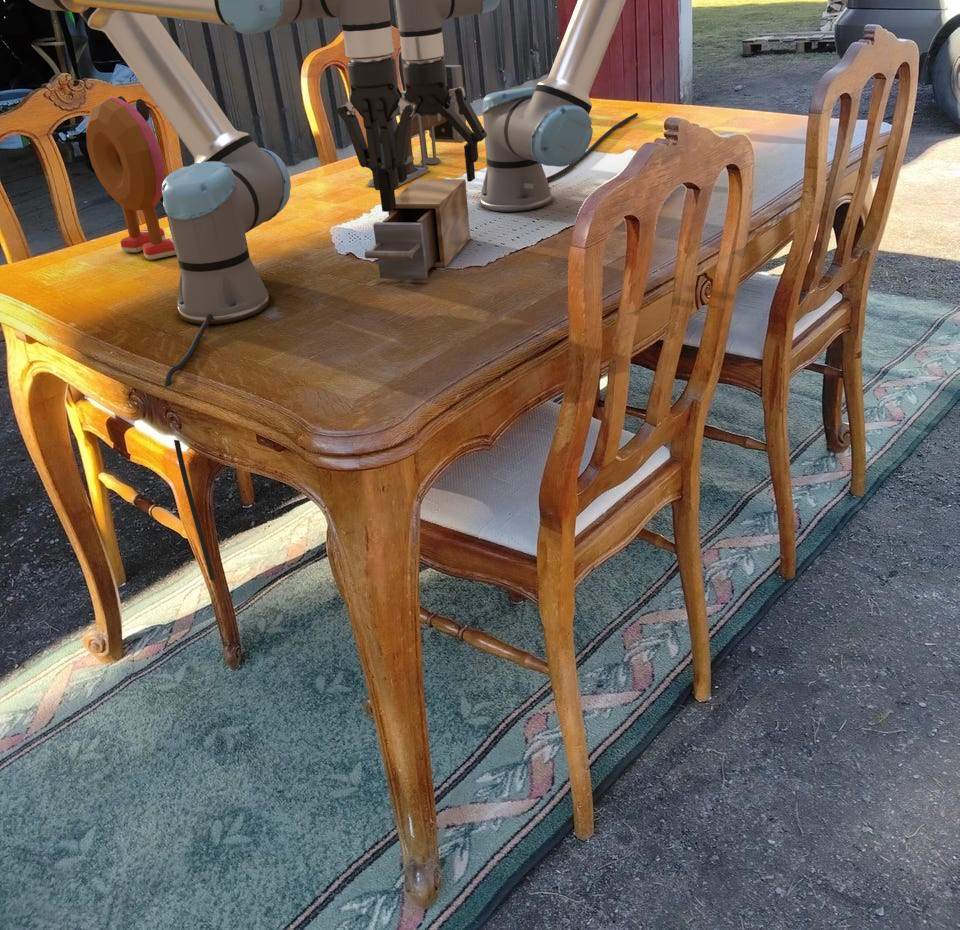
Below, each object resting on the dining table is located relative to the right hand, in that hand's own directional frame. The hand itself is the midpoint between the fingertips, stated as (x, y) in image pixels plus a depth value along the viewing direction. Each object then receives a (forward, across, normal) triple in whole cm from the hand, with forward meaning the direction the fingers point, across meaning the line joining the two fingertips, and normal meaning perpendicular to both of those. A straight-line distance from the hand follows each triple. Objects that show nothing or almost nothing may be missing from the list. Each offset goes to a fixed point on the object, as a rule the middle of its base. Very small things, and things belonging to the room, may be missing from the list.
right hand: (436, 180), depth 182 cm
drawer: (+11, 0, +18) cm, 21 cm away
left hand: (-2, 0, +24) cm, 25 cm away
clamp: (+13, +24, -57) cm, 63 cm away
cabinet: (+12, 0, +5) cm, 13 cm away
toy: (+12, +60, +8) cm, 61 cm away
